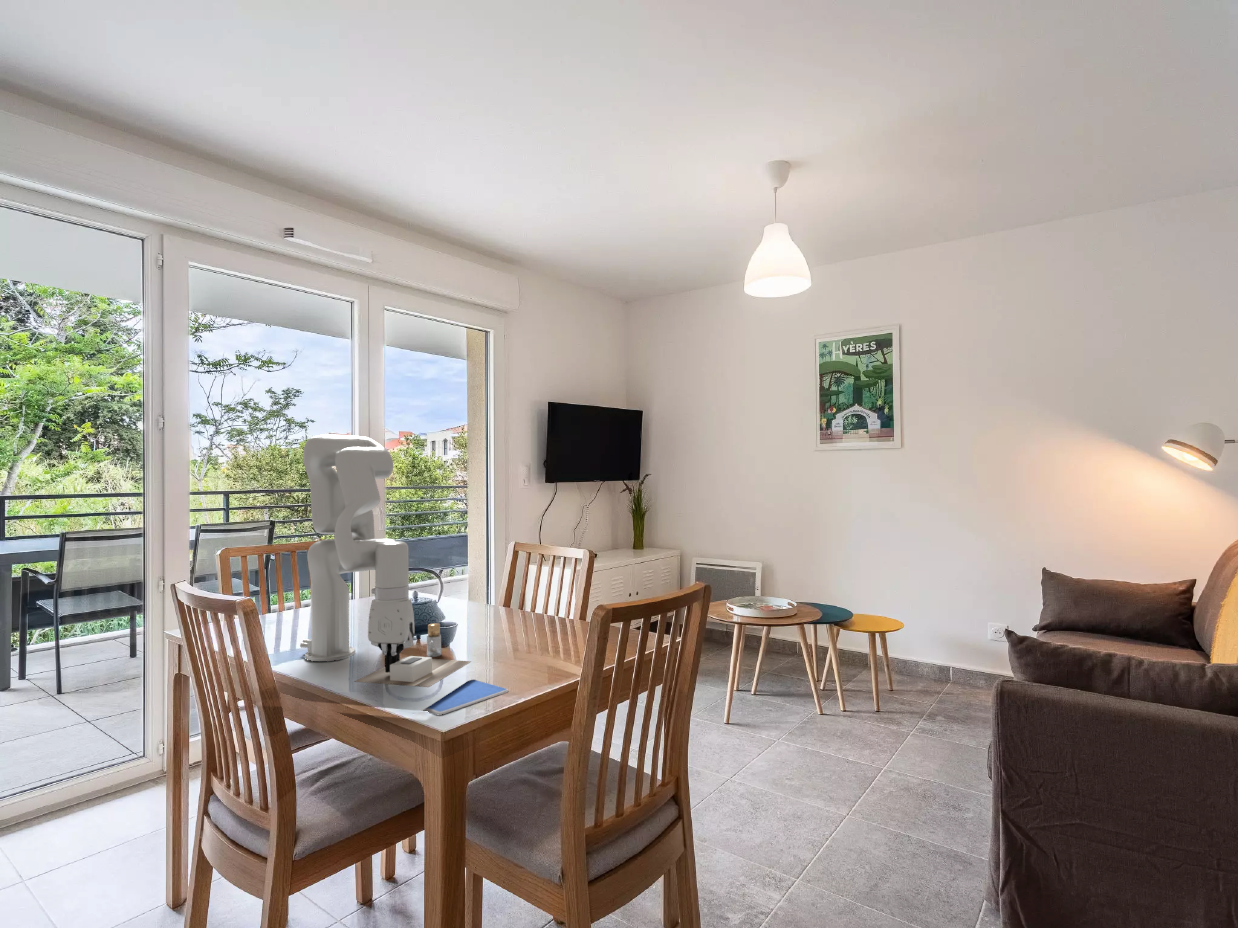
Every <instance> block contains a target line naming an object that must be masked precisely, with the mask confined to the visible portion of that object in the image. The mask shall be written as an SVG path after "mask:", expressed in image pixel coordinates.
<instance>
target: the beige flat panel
mask: <svg viewBox="0 0 1238 928" xmlns="http://www.w3.org/2000/svg"><path fill="white" fill-rule="evenodd" d="M407 657H408V656H404V657H402V658H400V660H402V659H405V658H407ZM471 662H472V661H470V660H458V659H457V660H456V659H454V660H453V659H441V658H439V659H438V658H432V672H431V673H429V674H428V675H426V676H424V677H422V678H420V679H418V680H416V681H414V682H405V681H394V680H390V672H388V673H387V672H385V666H383V667H381V668H379V669H376V670H375V671H372V672H370V673H369V674H367V675H364V676H363V677H360V678H359V679H357V680H354V682H355V683H356V682H357V683H369V684H370V683H371V684H383V685H393V686H395V685H396V686H397V685H398V686H409V687H418V688H419V687H422V688H430V687H432V686H433V685H435V684H437V683H438V682H440V681H441V680H443V679H445V678H447V677H448V676H449V675H452V674H453V673H455V672H456V671H458V670H459V669H460V670H461V668H464V667H465V666H467V665H468V664H470V663H471Z"/></svg>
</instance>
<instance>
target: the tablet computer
mask: <svg viewBox="0 0 1238 928" xmlns="http://www.w3.org/2000/svg"><path fill="white" fill-rule="evenodd" d="M506 693H509V689H508V688H505V687H502V686H498V685H495V684H492V683H488V682H484V681H482V680H477V679H469V680H467V681H465V682H464V683H463V684H461V685H459V686H458V687H456V688H455V689H454V690H451V691H450V692H449V693H447V694H446V695H444V696H443V697H441V698H440V699H438V700H437V701H435V702H434V703H432V704H430V705H429V706H428V707H426V708H424V709H423V712H425V711H428V712H429V714H431V713H433V714H432V715H434V714H439V715H438V716H443V715H445V714H448V713H451V712H453V711H457V710H460V709H463V708H466V707H469V706H471V705H474V704H477V703H481V702H483V701H486V700H489V699H492V698H495V697H499V696H501V695H504V694H506ZM428 712H427V713H428ZM442 714H443V715H442Z"/></svg>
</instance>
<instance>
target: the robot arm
mask: <svg viewBox="0 0 1238 928" xmlns="http://www.w3.org/2000/svg"><path fill="white" fill-rule="evenodd" d="M302 455H303V457H302V458H303V464H304V469H305V471H306V474H307V477H308V480H309V486H310V506H311V507H310V508H311V509H310V510H311V523H312V528H313V529H314V531H315V533H317V534H321V535H334V537H333V538H330V539H323V540H318V541H315V542H313V543H312V544H311V545H310V546H309V548H308V550H307V555H306V558H307V565H308V571H309V576H310V577H309V578H310V593H311V594H310V599H311V600H310V605H311V608H310V610H311V611H310V612H311V613H310V614H311V615H310V618H311V620H310V624H311V625H310V628H311V630H310V632H311V635H310V636H311V637H310V638H304V639H303V640H302V642H301V643H300V645H299V646H300V648H301V649H302V648H304V649H305V648H307V651H306V653H305V654H304V659H305V658H306V659H308V660H311V661H310V662H313V661H327V662H333V661H334V660H336V661H340V659H341V660H344V659H347V658H348V659H349V658H351V657H352V656H354V655H356V648H355V647H354V646H350V589H349V586H348V584H347V582H345V580H344V579H343V578H342V576H341V574H342V575H343V574H347V573H357V572H358V573H359V572H365V571H366V572H367V571H375V574H374V576H375V578H374V580H375V582H374V583H375V585H374V587H373V588H372V589H371V594H374V599H372V600H371V604H370V606H369V607H370V608H369V614H368V623H367V624H368V625H367V639H368V641H369V642H370V645H371V646H374V647H377V648H378V649H379V650H381V653H382V655H383V656H384V667H385V672H387V673H388V672H390V665H391V664H393V663H396V662H398V661H400V659H401V657H400V655H401V653H402V652H403V651H404V650H405V649H407V648H411V647H413V646H414V640H413V639H414V638H415V630H416V629H415V615H414V609H413V608H414V607H413V602H412V598H410V597H409V589H410V588H409V581H410V580H409V572H410V571H409V545H408V543H407V542H406V541H401V540H399V541H398V540H396V539H393V538H387V537H385V538H376V536H375V519H374V518H375V516H374V511H373V509H374V508H376V507H377V506H378V505H379V504H380V502H381V495H380V492H379V489H378V484H377V481H376V480H384V479H388V478H390V477H391V475H392V473H393V471H394V460H393V457H392V455H391V453H390V452H389V450H388V449H387V448H386V447H385V446H383V445H381V444H380V443H379V442H377V441H375V440H374V439H372V438H370V437H368V436H364V435H363V436H360V435H341V434H320V435H315V436H312V437H310V438H308V440H306V442H305V444H304V446H303V454H302ZM333 467H335V468H333ZM306 659H305V660H306ZM308 660H307V661H308Z"/></svg>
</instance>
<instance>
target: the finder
mask: <svg viewBox="0 0 1238 928" xmlns="http://www.w3.org/2000/svg"><path fill="white" fill-rule="evenodd" d="M406 657H407V658H405V659H402V658H401V659H402V660H400V661H398V662H396V663H393V664H391V665H390V680H394V681H405V682H414V681H416V680H418V679H420V678H422V677H424V676H426V675H428V674H429V673H431V672H432V659H433V657H428V656H416V655H415V656H413V655H409V656H406Z"/></svg>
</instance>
